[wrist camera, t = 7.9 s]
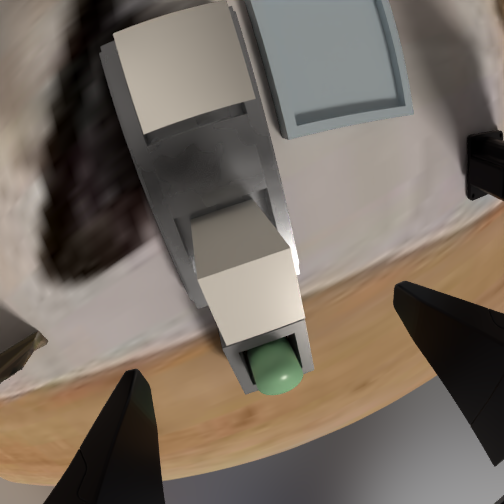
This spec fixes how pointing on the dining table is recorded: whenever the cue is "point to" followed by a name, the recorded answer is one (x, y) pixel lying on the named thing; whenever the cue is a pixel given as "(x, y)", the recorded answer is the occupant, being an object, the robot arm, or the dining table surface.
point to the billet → (183, 65)
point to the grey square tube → (241, 361)
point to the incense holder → (19, 355)
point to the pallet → (201, 165)
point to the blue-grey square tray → (331, 62)
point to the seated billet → (245, 272)
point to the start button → (275, 367)
